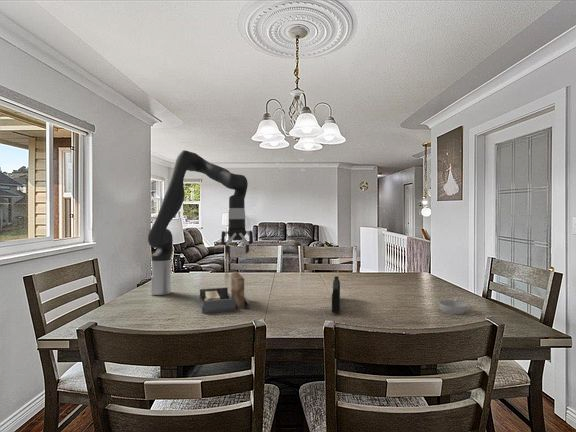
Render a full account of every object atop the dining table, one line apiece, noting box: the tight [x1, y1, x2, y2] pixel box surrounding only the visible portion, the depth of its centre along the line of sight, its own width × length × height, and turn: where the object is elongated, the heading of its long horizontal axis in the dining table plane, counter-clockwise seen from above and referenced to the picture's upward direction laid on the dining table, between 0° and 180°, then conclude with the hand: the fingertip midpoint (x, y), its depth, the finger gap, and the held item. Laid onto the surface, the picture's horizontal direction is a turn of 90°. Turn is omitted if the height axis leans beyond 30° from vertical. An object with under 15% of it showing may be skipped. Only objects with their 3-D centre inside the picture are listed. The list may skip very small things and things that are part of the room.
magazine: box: [331, 276, 341, 314], centre depth 160 cm, size 17×3×30 cm
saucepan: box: [438, 296, 468, 315], centre depth 155 cm, size 11×18×4 cm, turn 148°
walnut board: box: [230, 271, 245, 310], centre depth 166 cm, size 3×18×13 cm, turn 17°
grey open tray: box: [198, 287, 251, 315], centre depth 164 cm, size 20×25×5 cm
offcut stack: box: [203, 291, 220, 302], centre depth 163 cm, size 6×18×5 cm, turn 17°
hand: (237, 253), depth 166 cm, fingers open, 8 cm apart
